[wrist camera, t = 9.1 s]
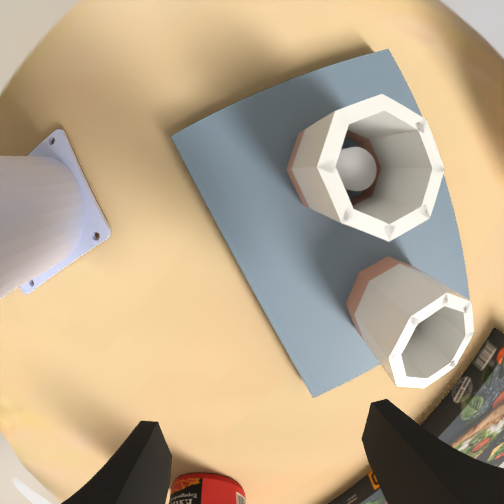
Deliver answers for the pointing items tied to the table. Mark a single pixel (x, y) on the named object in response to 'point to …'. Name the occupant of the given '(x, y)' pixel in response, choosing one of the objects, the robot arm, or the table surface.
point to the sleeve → (387, 163)
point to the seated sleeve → (410, 321)
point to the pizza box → (460, 418)
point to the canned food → (206, 490)
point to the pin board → (310, 213)
